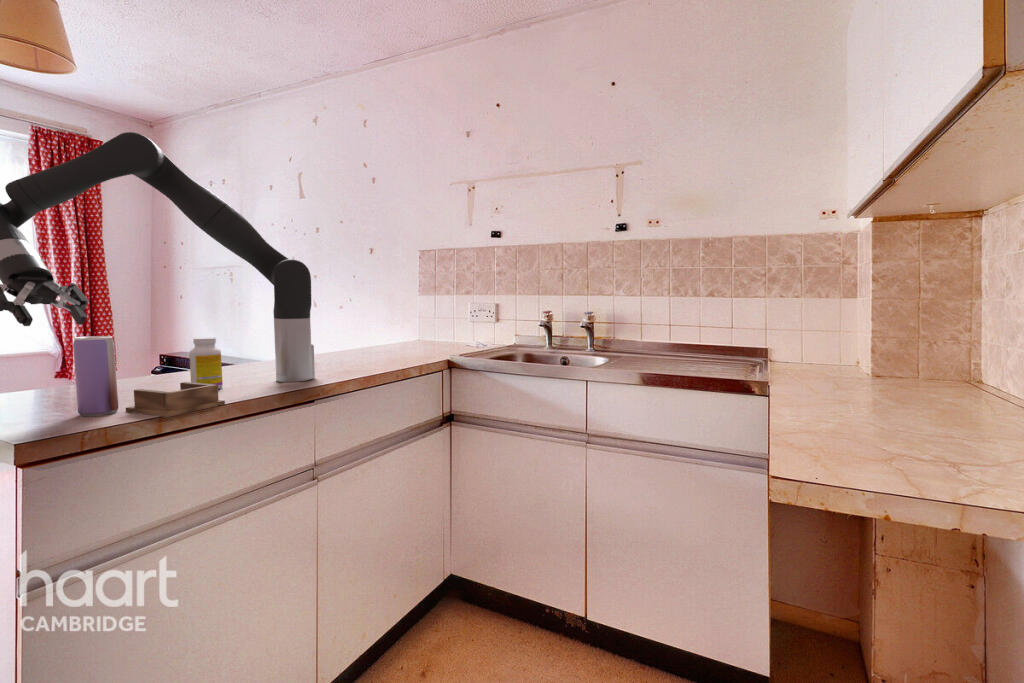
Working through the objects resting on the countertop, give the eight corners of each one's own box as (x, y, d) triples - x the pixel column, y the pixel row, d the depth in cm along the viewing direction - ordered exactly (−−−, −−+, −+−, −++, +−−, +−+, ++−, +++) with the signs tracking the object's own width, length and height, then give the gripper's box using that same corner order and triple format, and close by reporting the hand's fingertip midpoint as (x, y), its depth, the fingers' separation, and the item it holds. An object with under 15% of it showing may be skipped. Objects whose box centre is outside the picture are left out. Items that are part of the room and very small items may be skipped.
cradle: (185, 400, 106) (184, 380, 105) (224, 404, 102) (223, 384, 101) (125, 411, 95) (124, 390, 94) (167, 416, 90) (165, 394, 90)
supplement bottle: (228, 388, 120) (226, 337, 119) (202, 392, 114) (199, 339, 113) (211, 386, 123) (209, 336, 122) (185, 390, 117) (182, 338, 116)
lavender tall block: (95, 418, 89) (89, 338, 88) (69, 416, 91) (64, 337, 89) (126, 411, 95) (121, 336, 94) (102, 409, 96) (97, 335, 95)
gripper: (-23, 249, 91) (16, 309, 88) (68, 255, 104) (105, 309, 101) (-36, 277, 93) (2, 337, 90) (55, 280, 106) (91, 333, 103)
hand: (56, 322), depth 95 cm, fingers open, 8 cm apart
